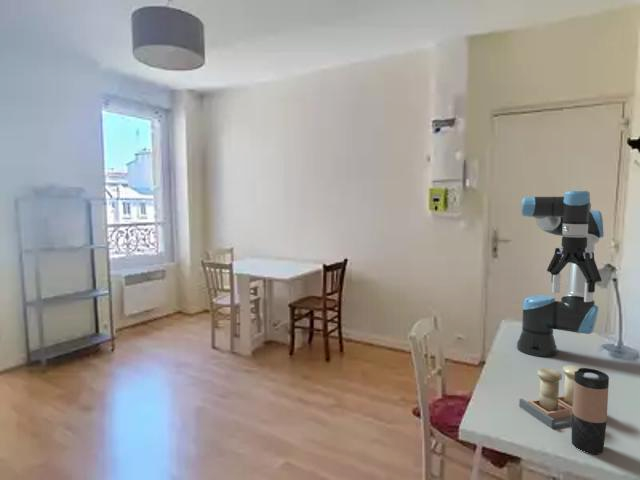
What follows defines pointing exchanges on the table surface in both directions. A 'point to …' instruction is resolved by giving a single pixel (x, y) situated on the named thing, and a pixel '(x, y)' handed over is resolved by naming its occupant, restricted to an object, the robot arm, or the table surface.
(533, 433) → the table surface
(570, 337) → the table surface
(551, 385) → the cream pawn-shaped knob
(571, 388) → the housing
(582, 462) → the table surface
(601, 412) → the travel mug
